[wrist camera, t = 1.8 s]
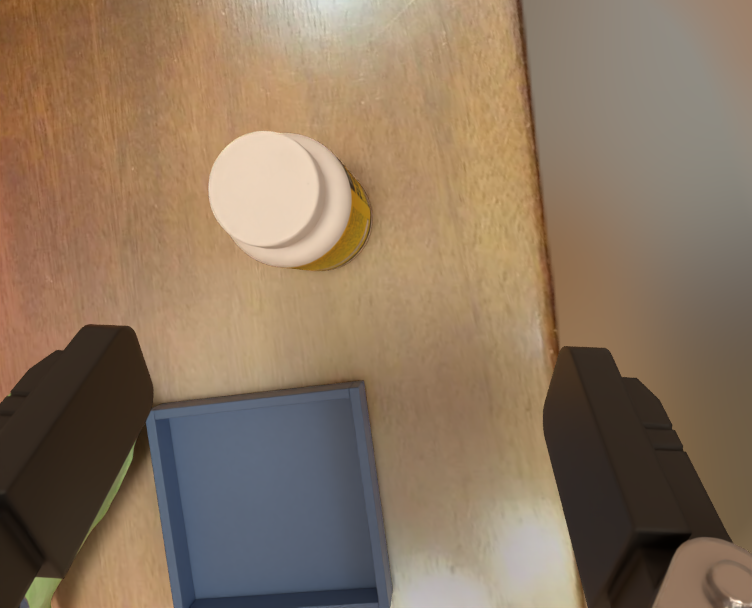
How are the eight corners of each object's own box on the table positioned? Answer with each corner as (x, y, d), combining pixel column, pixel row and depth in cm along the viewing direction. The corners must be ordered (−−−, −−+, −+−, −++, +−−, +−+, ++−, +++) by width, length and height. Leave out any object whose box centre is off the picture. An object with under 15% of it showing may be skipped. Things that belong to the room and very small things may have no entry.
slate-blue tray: (363, 380, 32) (358, 386, 30) (393, 591, 33) (389, 612, 31) (162, 403, 34) (143, 411, 32) (192, 603, 34) (176, 624, 32)
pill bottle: (392, 199, 32) (367, 157, 21) (342, 289, 32) (291, 294, 21) (304, 150, 32) (234, 83, 21) (256, 239, 33) (163, 219, 22)
